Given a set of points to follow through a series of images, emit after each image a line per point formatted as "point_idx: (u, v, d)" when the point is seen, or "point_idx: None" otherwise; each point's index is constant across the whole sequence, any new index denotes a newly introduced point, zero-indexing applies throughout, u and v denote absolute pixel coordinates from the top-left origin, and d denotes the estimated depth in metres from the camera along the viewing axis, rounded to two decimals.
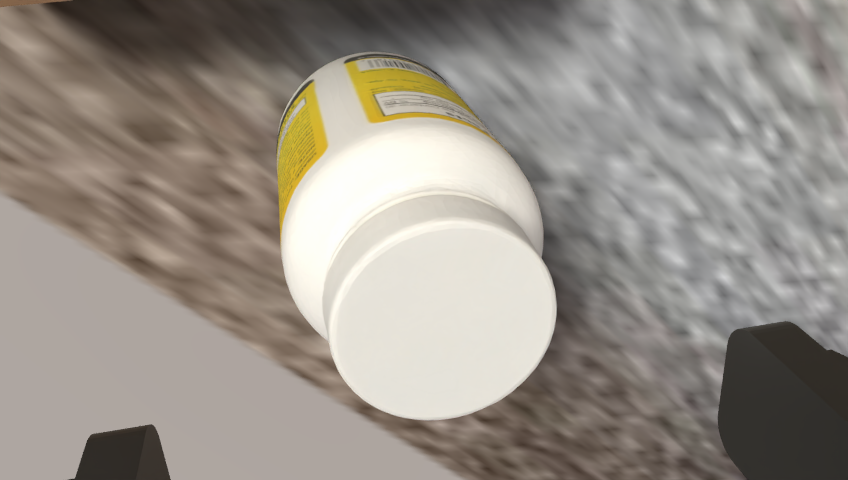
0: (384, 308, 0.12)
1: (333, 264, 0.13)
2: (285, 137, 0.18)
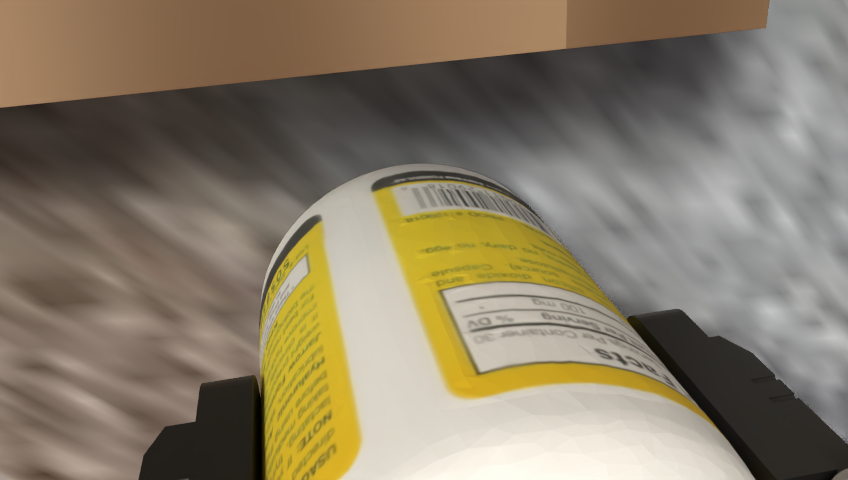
0: None
1: None
2: (273, 330, 0.10)
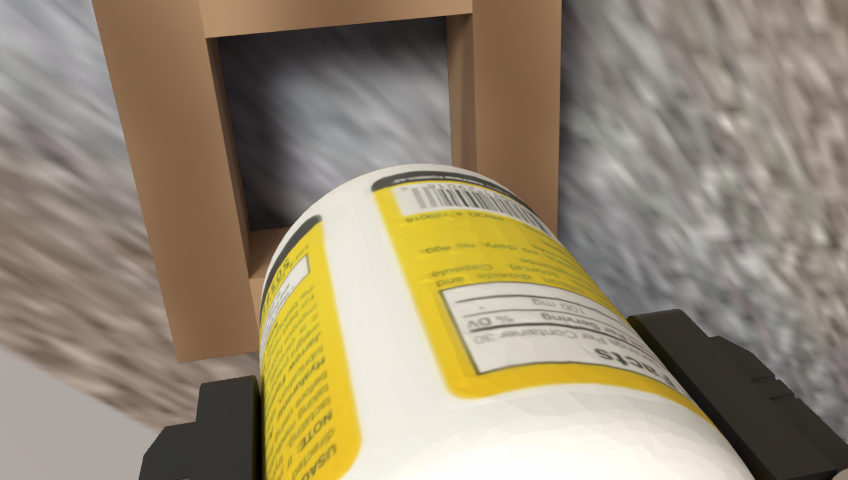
0: None
1: None
2: (273, 330, 0.10)
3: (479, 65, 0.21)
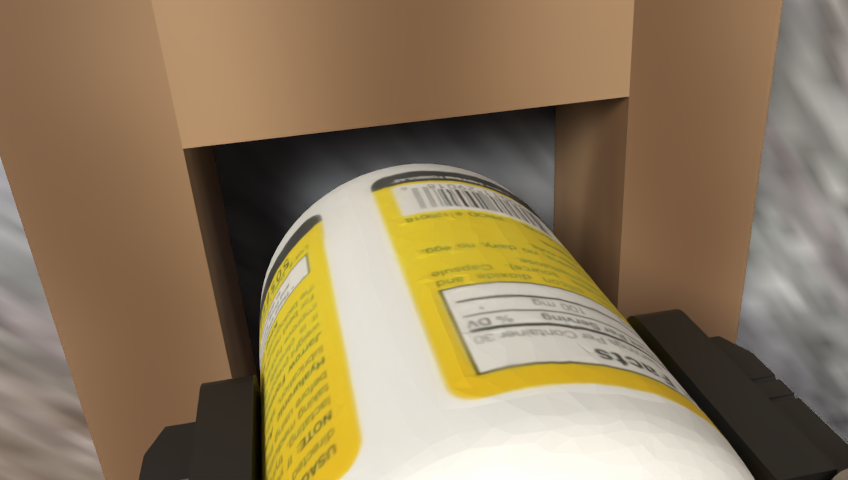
0: None
1: None
2: (273, 330, 0.10)
3: (633, 177, 0.13)
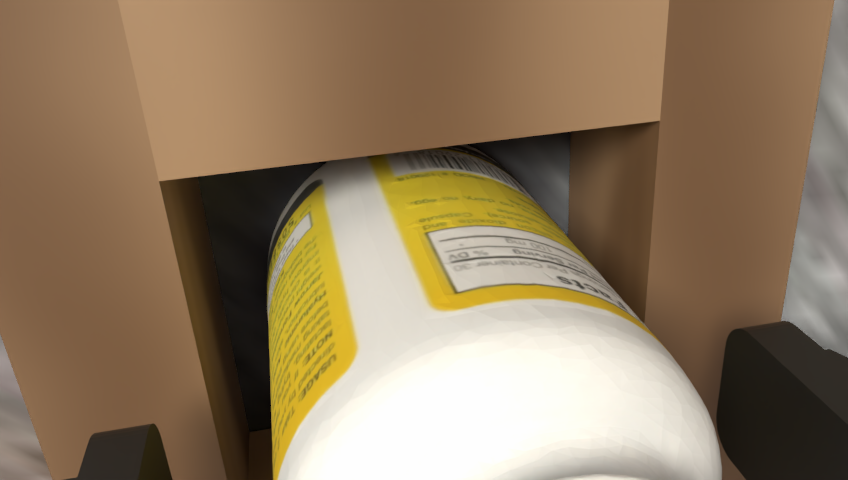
0: None
1: None
2: (280, 278, 0.12)
3: (662, 209, 0.12)
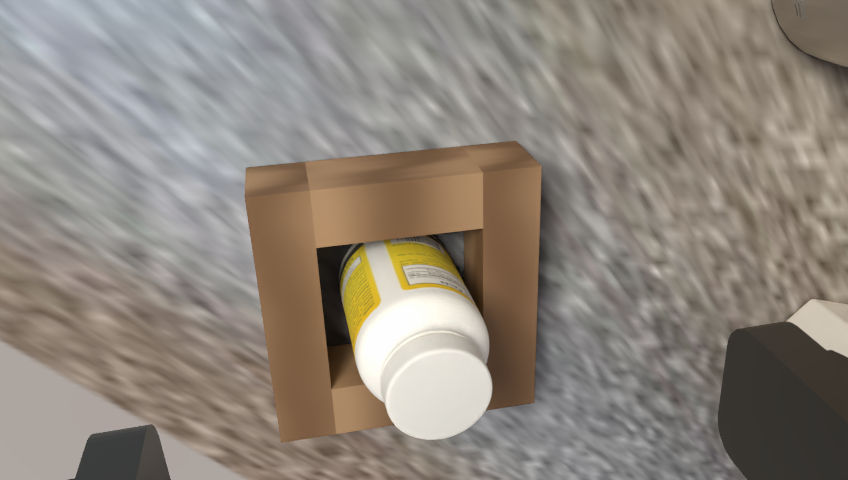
0: (412, 388, 0.27)
1: (387, 365, 0.27)
2: (349, 280, 0.33)
3: (486, 258, 0.33)
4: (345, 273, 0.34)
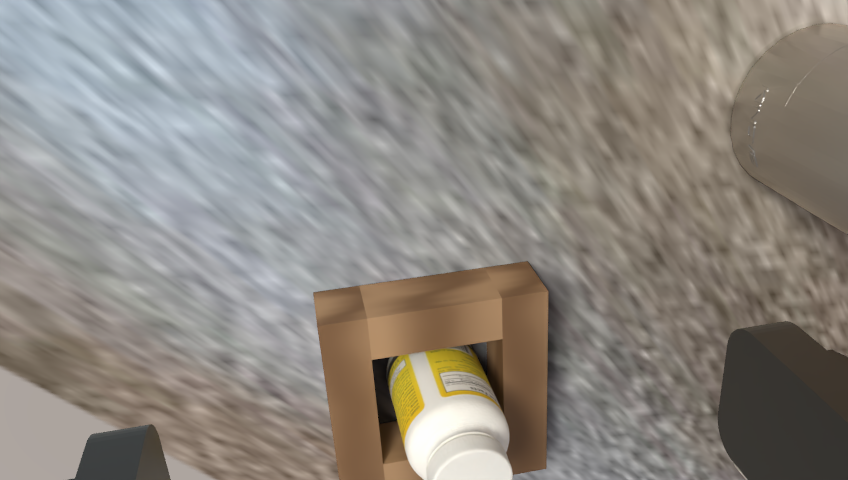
0: (451, 478, 0.35)
1: (431, 460, 0.36)
2: (396, 379, 0.41)
3: (505, 361, 0.41)
4: (392, 372, 0.42)
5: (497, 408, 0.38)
